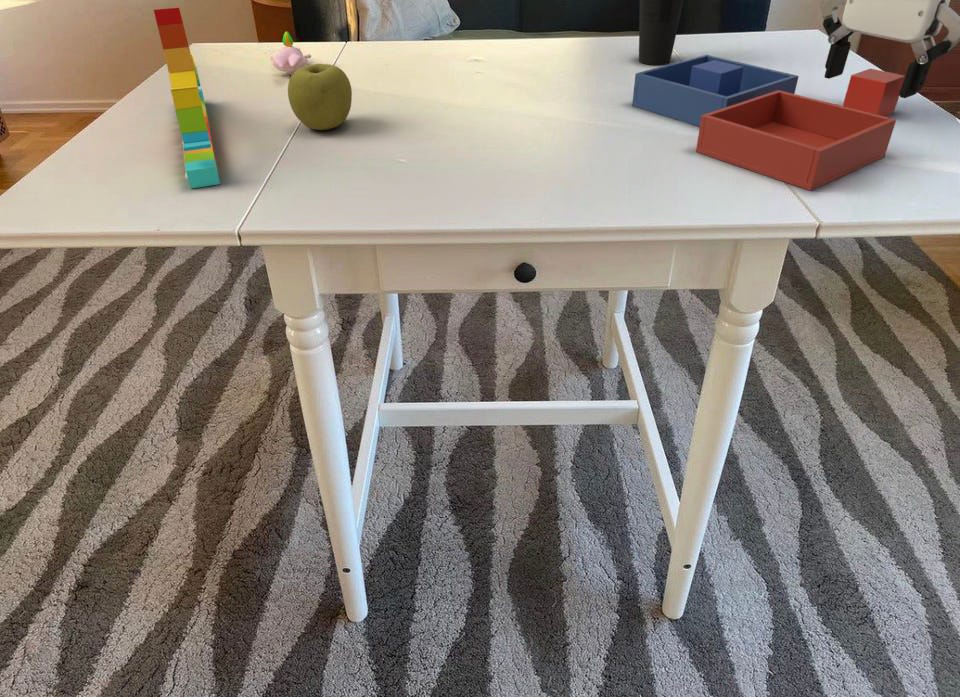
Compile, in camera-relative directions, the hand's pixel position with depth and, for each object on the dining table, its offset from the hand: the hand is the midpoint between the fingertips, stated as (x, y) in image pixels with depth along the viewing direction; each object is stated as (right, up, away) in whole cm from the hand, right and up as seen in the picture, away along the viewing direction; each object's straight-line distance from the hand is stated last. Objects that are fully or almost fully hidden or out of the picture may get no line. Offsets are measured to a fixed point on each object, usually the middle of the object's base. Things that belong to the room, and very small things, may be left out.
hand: (869, 85), depth 89 cm
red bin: (-14, -11, -10) cm, 20 cm away
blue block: (-18, -1, +4) cm, 19 cm away
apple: (-67, -5, +1) cm, 68 cm away
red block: (+1, -3, +1) cm, 3 cm away
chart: (-82, -8, -2) cm, 82 cm away
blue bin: (-18, -1, +4) cm, 19 cm away
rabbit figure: (-77, +10, +22) cm, 80 cm away
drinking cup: (-21, +12, +23) cm, 33 cm away
